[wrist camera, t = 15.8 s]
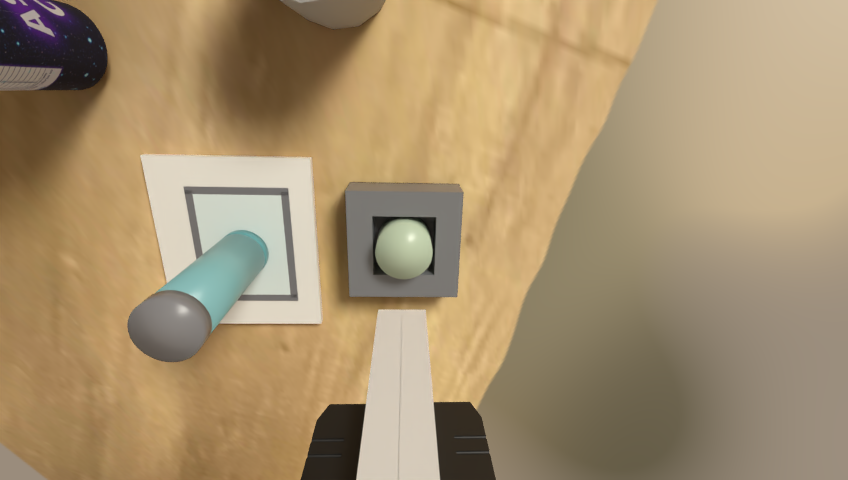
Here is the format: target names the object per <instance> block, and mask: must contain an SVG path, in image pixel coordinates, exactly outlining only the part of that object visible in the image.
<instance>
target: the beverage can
mask: <svg viewBox="0 0 848 480" xmlns="http://www.w3.org/2000/svg"><path fill="white" fill-rule="evenodd" d="M106 67H107V49H106V45H105V42H104V39H103V37H102V35H101V33H100V31H99V30H98V28H97V27H96V25H95V24H94V23H93V22H92V21H91V20H90V19H89V18H88V17H87V16H86V15H85V14H84V13H83V12H81V11H80V10H78V9H77V8H75V7H73V6H71V5H68V4H65V3H62V2H58V1H54V0H0V90H83V89H87V88H90V87H92V86H93V85H95V84H96V83H98V82H99V81H100V79H101V78H102V77H103V75H104V73H105V70H106Z"/></svg>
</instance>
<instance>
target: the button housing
mask: <svg viewBox="0 0 848 480" xmlns="http://www.w3.org/2000/svg"><path fill="white" fill-rule="evenodd" d="M345 198H346V222H347V247H348V271H349V295H350V297H457V292H458V276H459V259H460V242H461V225H462V208H463V191H462V189H461V187H460V185H459V184H427V183H366V182H350V184H349V185H348V187H347V188H346V190H345ZM391 217H418V218H419V219H421V220H422V221H423V222H424V223H425V224H426V226H427V227H428V229H429V232H430V237H431V243H432V250H433V255H432V260H431V263H430V265H429V267H428V268H427V269H426V270H425V271H424V272H423V273H422V274H420V275H419V276H417V277H414V278H411V279H397V278H394V277H391V276H389V275H388V274H386V273H385V272H384V271H383V270H382V269H381V268H380V267H379V265H378V263H377V260H376V256H375V249H376V244H377V239H378V234H379V230H380V228H381V226H382V225H383V223H384V222H385V221H386V220H388V219H389V218H391Z"/></svg>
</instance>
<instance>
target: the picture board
mask: <svg viewBox="0 0 848 480" xmlns="http://www.w3.org/2000/svg"><path fill="white" fill-rule="evenodd" d="M140 156H141V161H142V166H143V171H144V175H145V180H146V185H147V190H148V194H149V199H150V204H151V209H152V214H153V218H154V223H155V228H156V233H157V237H158V242H159V247H160V252H161V257H162V261H163V266H164V271H165V276H166V281H167V283H168V282H169V281H171V280H172V279H173V278H174V277H176V276H177V275H178V274H179V273H180V272H182V271H183V270H184V269H185V268H187V267H188V266H189V265H190V264H192V263H193V262H194V261H195V260H196V259H198V258H199V257H200V256H201V255H203V254H204V253H205V252H206V251H208V250H209V249H210V248H211V247H212V246H214V245H215V244H216V243H217V242H219V241H220V240H221V239H222V238H224V237H225V236H226V235H227V234H229V233H230V232H233V231H236V230H247V231H250V232H253V233H255V234H257V235H258V236H259V237H260V238H262V240H263V241H264V242H265V244H266V246H267V248H268V252H269V257H268V261H267V263H266V265H265V266H264V268H263V269H262V270H261V271H260V273H259V274H258V275H257V276H256V278H255V279H254V280H253V281H252V283H251V284H250V285H249V286H248V288H247V289H246V290H245V291H244V293H243V294H242V295H241V296H240V298H239V299H238V300H237V301H236V303H235V304H234V305H233V306H232V308H231V309H230V310H229V311H228V313H227V314H226V315H225V316H224V318H223V319H222V320H221V321H220V323H219V324H321V323H322V321H323V314H322V299H321V285H320V270H319V255H318V240H317V226H316V211H315V196H314V181H313V166H312V157H280V156H228V155H176V154H143V155H140Z"/></svg>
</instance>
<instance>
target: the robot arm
mask: <svg viewBox="0 0 848 480" xmlns="http://www.w3.org/2000/svg"><path fill="white" fill-rule="evenodd" d="M301 480H496V478H495V475H494V470H493V465H492V461H491V456H490V454H489V448H488V444H487V439H486V435H485V431H484V426H483V421H482V418H481V416H480V415H479V413H478V412H477V411H476V409H475V408H474V407H473V405H472V404H471V403H470V402H433V391H432V379H431V368H430V356H429V344H428V332H427V321H426V310H378V316H377V323H376V331H375V339H374V346H373V354H372V362H371V370H370V377H369V385H368V393H367V401H366V404H330V405H329V406H328V407H327V408H326V410H325V411H324V412H323V413H322V415H321V416H320V417H319V418H318V420H317V422H316V426H315V429H314V433H313V437H312V442H311V444H310V448H309V451H308V457H307V459H306V462H305V466H304V470H303V474H302V477H301Z"/></svg>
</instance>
